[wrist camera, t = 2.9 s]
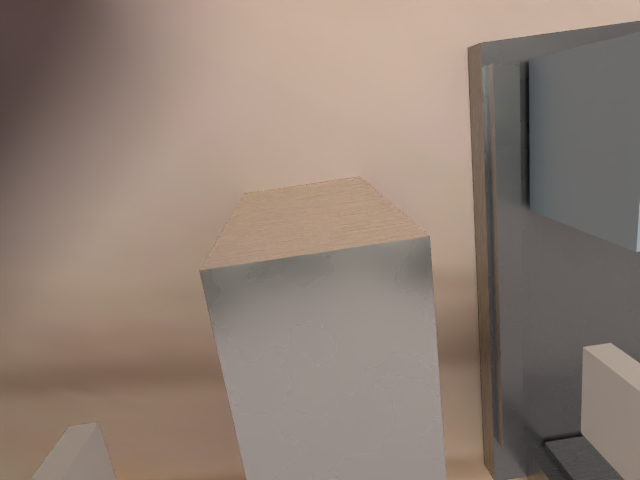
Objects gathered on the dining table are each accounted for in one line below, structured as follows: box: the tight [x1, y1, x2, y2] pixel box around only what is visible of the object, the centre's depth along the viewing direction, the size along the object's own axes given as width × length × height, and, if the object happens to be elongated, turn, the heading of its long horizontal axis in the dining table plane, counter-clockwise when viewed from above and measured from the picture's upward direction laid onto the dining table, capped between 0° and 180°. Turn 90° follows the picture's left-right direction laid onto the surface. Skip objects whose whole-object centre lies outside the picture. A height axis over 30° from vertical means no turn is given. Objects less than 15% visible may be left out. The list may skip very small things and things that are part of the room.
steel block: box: [200, 177, 447, 480], centre depth 18 cm, size 6×9×12 cm, turn 8°
